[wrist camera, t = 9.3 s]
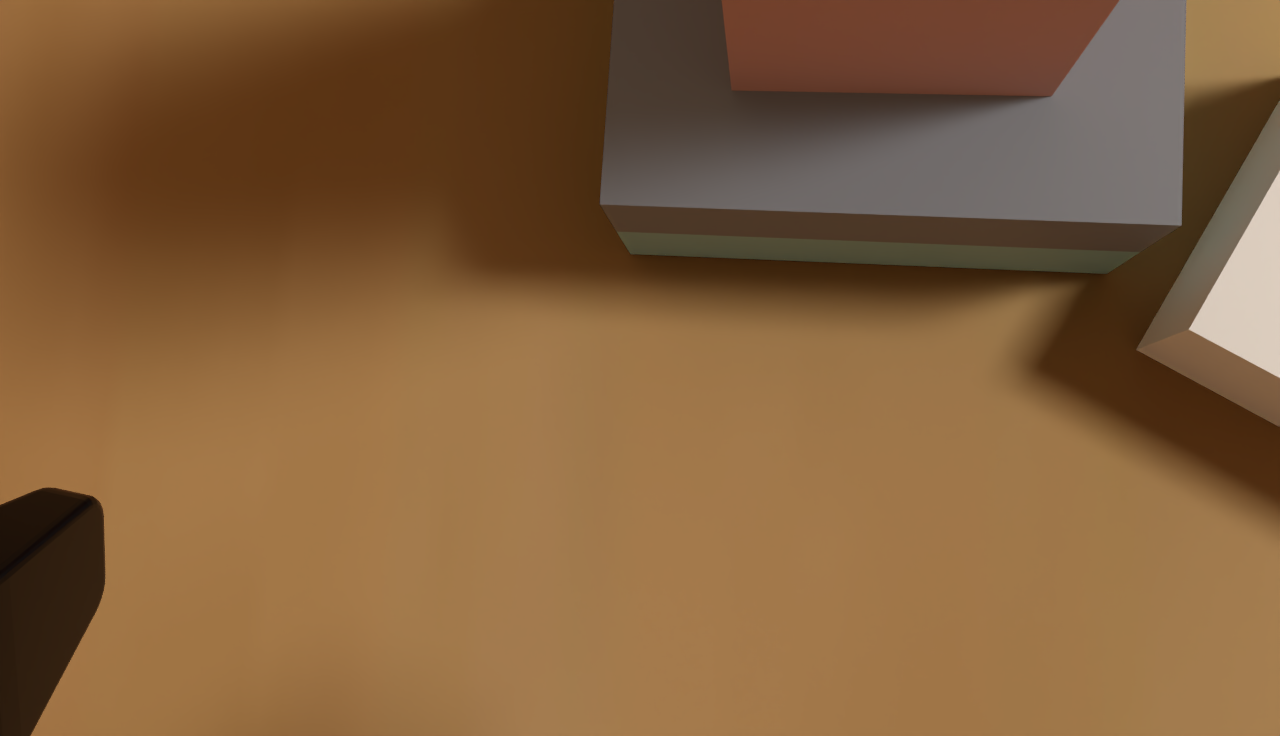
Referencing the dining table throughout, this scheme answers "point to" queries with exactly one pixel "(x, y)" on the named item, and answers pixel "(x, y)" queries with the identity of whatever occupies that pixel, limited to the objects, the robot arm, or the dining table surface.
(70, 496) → the robot arm
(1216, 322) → the brick
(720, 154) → the brick base
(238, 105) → the dining table surface
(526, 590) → the dining table surface
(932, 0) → the tall brick
